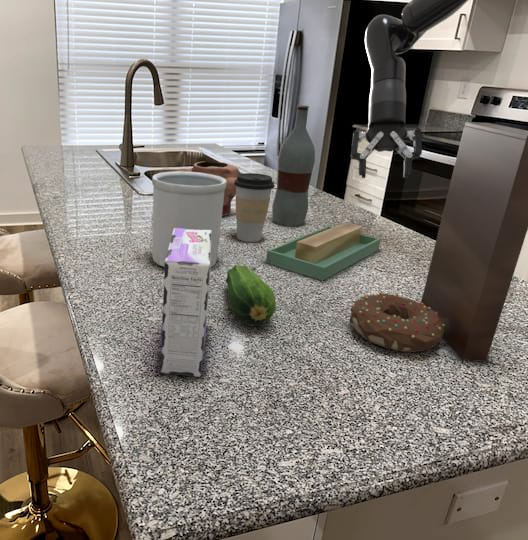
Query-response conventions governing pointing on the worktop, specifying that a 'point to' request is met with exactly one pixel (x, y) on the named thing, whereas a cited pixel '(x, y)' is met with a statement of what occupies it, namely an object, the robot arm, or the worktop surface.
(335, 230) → the beech stick
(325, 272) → the tray
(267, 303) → the vegetable
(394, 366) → the worktop surface
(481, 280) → the walnut stand
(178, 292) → the candy box
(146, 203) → the worktop surface
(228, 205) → the decorative planter
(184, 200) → the utensil holder
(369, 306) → the donut
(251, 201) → the coffee cup
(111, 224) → the worktop surface
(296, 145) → the vodka
